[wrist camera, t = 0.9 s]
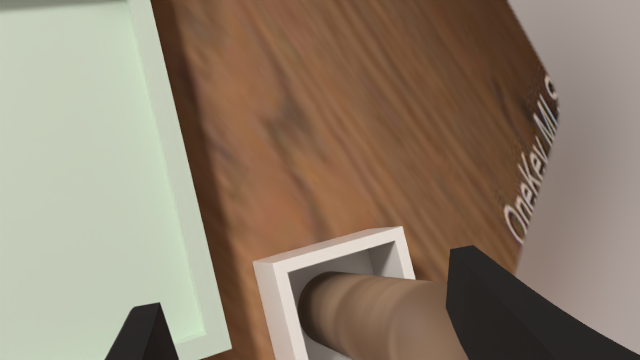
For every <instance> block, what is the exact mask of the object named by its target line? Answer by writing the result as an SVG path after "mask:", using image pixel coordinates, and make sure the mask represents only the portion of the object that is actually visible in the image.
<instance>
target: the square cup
mask: <svg viewBox="0 0 640 360" xmlns="http://www.w3.org/2000/svg"><path fill="white" fill-rule="evenodd" d="M252 262H253V267H254V271H255V275H256V279H257V283H258V288H259V292H260V296H261V300H262V304H263V309H264V313H265V317H266V321H267V325H268V330H269V334H270V338H271V342H272V346H273V350H274V355H275V359H276V360H353V359H351V358H348V357H346V356H344V355H342V354H340V353H338V352H336V351H334V350H332V349H330V348H327V347H325V346H323V345H321V344H319V343H317V342H315V341H313V340H312V339H311V338H310V337H308V336H307V334H306V333H305V332H304V330H303V329H302V327H301V324H300V321H299V317H298V302H299V298H300V295H301V293H302V291H303V289H304V287H305V286H306V284H307V283H308V282H309V281H310V280H311V279H312V278H314V277H315V276H317V275H319V274H321V273H324V272H329V271H336V272H346V273H356V274H365V275H375V276H385V277H395V278H404V279H414V280H416V279H415V275H414V271H413V267H412V263H411V259H410V255H409V251H408V247H407V243H406V239H405V235H404V231H403V227H402V226H399V227H388V228H376V229H367V230H363V231H360V232H356V233H352V234H349V235H345V236H342V237H338V238H335V239H331V240H327V241H324V242H320V243H317V244H313V245H309V246H306V247H302V248H299V249H295V250H292V251H288V252H284V253H281V254H277V255H274V256H270V257H267V258H263V259H259V260H256V261H252Z"/></svg>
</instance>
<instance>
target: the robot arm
mask: <svg viewBox="0 0 640 360" xmlns="http://www.w3.org/2000/svg"><path fill="white" fill-rule="evenodd" d="M446 310H447V312H448V315H449V318H450V320H451V323H452V325H453V328H454V330H455V332H456V335H457V337H458V340H459V342H460V344H461V346H462V348H463V350H464V352H465V353H466V355H467V357H468V359H469V360H640V355H639V354H637V353H635V352H632V351H631V350H629V349H627V348H625V347H623V346H622V345H620V344H618V343H616V342H614V341H613V340H611V339H609V338H607V337H605V336H604V335H602V334H600V333H598V332H596V331H595V330H593V329H591V328H590V327H588V326H587V325H585V324H583V323H582V322H580V321H579V320H577V319H575V318H574V317H572V316H571V315H569V314H568V313H566V312H564V311H563V310H561V309H560V308H558V307H557V306H555V305H554V304H552V303H551V302H549V301H548V300H546V299H545V298H544V297H542V296H541V295H539V294H538V293H536V292H535V291H534V290H532V289H531V288H530V287H528V286H527V285H525V284H524V283H523V282H521V281H520V280H519V279H517V278H516V277H515V276H513V275H512V274H511V273H509V272H508V271H507V270H505V269H504V268H503V267H501V266H500V265H499V264H497V263H496V262H495V261H493V260H492V259H491V258H490V257H488V256H487V255H486V254H484V253H483V252H482V251H480V250H479V249H478V248H476V247H475V246H474V245H472V246H466V247H461V248H455V249H450V259H449V271H448V283H447V295H446ZM104 360H179V358H178V355H177V352H176V349H175V346H174V343H173V340H172V337H171V334H170V331H169V328H168V325H167V322H166V319H165V316H164V313H163V310H162V307H161V304H160V302H157V303H152V304H146V305H141V306H135V307H133V308H132V309H131V311H130V312H129V314H128V316H127V318H126V320H125V322H124V324H123V326H122V328H121V330H120V332H119V334H118V336H117V337H116V339H115V341H114V343H113V345H112V347H111V348H110V350H109V352H108V354H107V356H106V358H105V359H104Z"/></svg>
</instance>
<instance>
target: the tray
mask: <svg viewBox="0 0 640 360" xmlns="http://www.w3.org/2000/svg"><path fill="white" fill-rule="evenodd" d="M157 302H160V304H161V307H162V310H163V313H164V316H165V319H166V322H167V325H168V328H169V331H170V334H171V337H172V340H173V343H174V346H175V349H176V352H177V355H178V358H179V360H200V359H203V358H206V357H208V356H211V355H214V354H217V353H220V352H223V351H226V350H229V349H232V346H231V342H230V338H229V333H228V329H227V325H226V321H225V316H224V312H223V308H222V304H221V299H220V295H219V291H218V287H217V282H216V278H215V274H214V270H213V265H212V261H211V257H210V253H209V249H208V244H207V240H206V236H205V232H204V227H203V223H202V219H201V215H200V210H199V206H198V202H197V198H196V193H195V189H194V185H193V181H192V176H191V172H190V168H189V164H188V159H187V155H186V151H185V147H184V142H183V138H182V134H181V130H180V125H179V121H178V117H177V113H176V108H175V104H174V100H173V96H172V91H171V87H170V83H169V79H168V74H167V70H166V66H165V62H164V57H163V53H162V49H161V45H160V40H159V36H158V32H157V28H156V23H155V19H154V15H153V11H152V6H151V2H150V0H0V360H104V359H105V358H106V356H107V354H108V352H109V350H110V348H111V347H112V345H113V343H114V341H115V339H116V337H117V336H118V334H119V332H120V330H121V328H122V326H123V324H124V322H125V320H126V318H127V316H128V314H129V312H130V311H131V309H132V308H133V307H135V306H141V305H146V304H152V303H157Z"/></svg>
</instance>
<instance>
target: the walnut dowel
mask: <svg viewBox="0 0 640 360" xmlns="http://www.w3.org/2000/svg"><path fill="white" fill-rule="evenodd" d="M446 295H447V283H443V282H434V281H424V280H414V279H404V278H395V277H385V276H375V275H365V274H356V273H346V272H336V271H329V272H324V273H321V274H319V275H317V276H315V277H314V278H312V279H311V280H310V281H309V282H308V283H307V284H306V286H305V287H304V289H303V291H302V293H301V295H300V298H299V302H298V317H299V321H300V324H301V327H302V329H303V330H304V332H305V333H306V334H307V336H308V337H310V338H311V339H312V340H313V341H315V342H317V343H319V344H321V345H323V346H325V347H327V348H330V349H332V350H334V351H336V352H338V353H340V354H342V355H344V356H346V357H348V358H351V359H353V360H469V359H468V357H467V355H466V353H465V352H464V350H463V348H462V346H461V344H460V342H459V340H458V337H457V335H456V332H455V330H454V328H453V325H452V323H451V320H450V318H449V315H448V312H447V310H446Z"/></svg>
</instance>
